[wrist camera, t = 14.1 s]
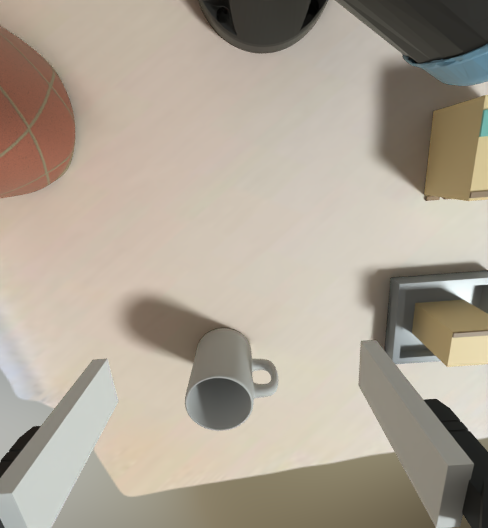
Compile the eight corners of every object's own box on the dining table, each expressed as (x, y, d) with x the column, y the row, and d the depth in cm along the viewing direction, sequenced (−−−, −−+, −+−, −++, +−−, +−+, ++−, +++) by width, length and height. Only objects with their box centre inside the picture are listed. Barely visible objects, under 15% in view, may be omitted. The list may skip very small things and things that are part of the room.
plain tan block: (415, 303, 43) (454, 332, 35) (463, 299, 43) (513, 328, 35) (411, 332, 44) (448, 367, 36) (458, 329, 44) (505, 364, 36)
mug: (198, 374, 47) (186, 432, 37) (195, 327, 45) (180, 376, 34) (273, 372, 47) (282, 430, 37) (273, 326, 45) (283, 374, 34)
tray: (390, 277, 42) (399, 284, 40) (488, 270, 42) (503, 276, 40) (384, 354, 46) (392, 364, 44) (473, 348, 46) (486, 357, 44)
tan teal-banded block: (433, 111, 36) (487, 94, 28) (491, 106, 36) (561, 88, 28) (423, 200, 39) (469, 208, 31) (476, 196, 39) (535, 203, 31)
